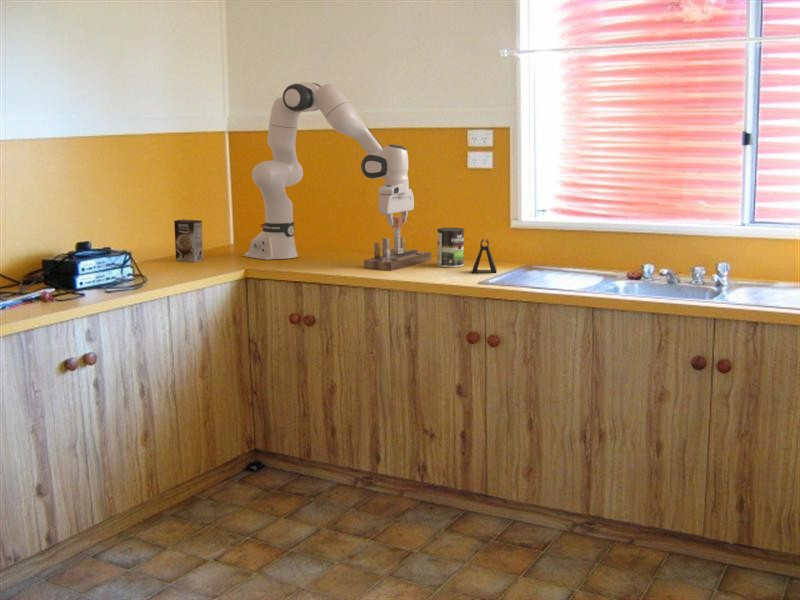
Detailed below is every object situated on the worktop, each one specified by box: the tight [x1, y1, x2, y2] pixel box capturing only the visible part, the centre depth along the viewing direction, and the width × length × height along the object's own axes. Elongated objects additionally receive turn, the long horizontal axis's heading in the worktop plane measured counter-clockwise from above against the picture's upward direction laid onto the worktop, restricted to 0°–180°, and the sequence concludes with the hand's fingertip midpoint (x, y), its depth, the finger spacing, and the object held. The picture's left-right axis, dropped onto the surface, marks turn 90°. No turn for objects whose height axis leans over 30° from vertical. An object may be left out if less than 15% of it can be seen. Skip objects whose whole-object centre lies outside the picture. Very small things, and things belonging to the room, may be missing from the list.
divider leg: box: [390, 216, 404, 254], centre depth 378 cm, size 3×4×14 cm
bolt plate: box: [363, 236, 432, 272], centre depth 380 cm, size 12×30×11 cm, turn 148°
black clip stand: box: [471, 238, 498, 274], centre depth 360 cm, size 9×6×12 cm, turn 83°
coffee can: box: [436, 227, 465, 268], centre depth 375 cm, size 10×10×14 cm
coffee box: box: [173, 218, 204, 263], centre depth 389 cm, size 9×6×16 cm
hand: (397, 224), depth 377 cm, fingers open, 7 cm apart
